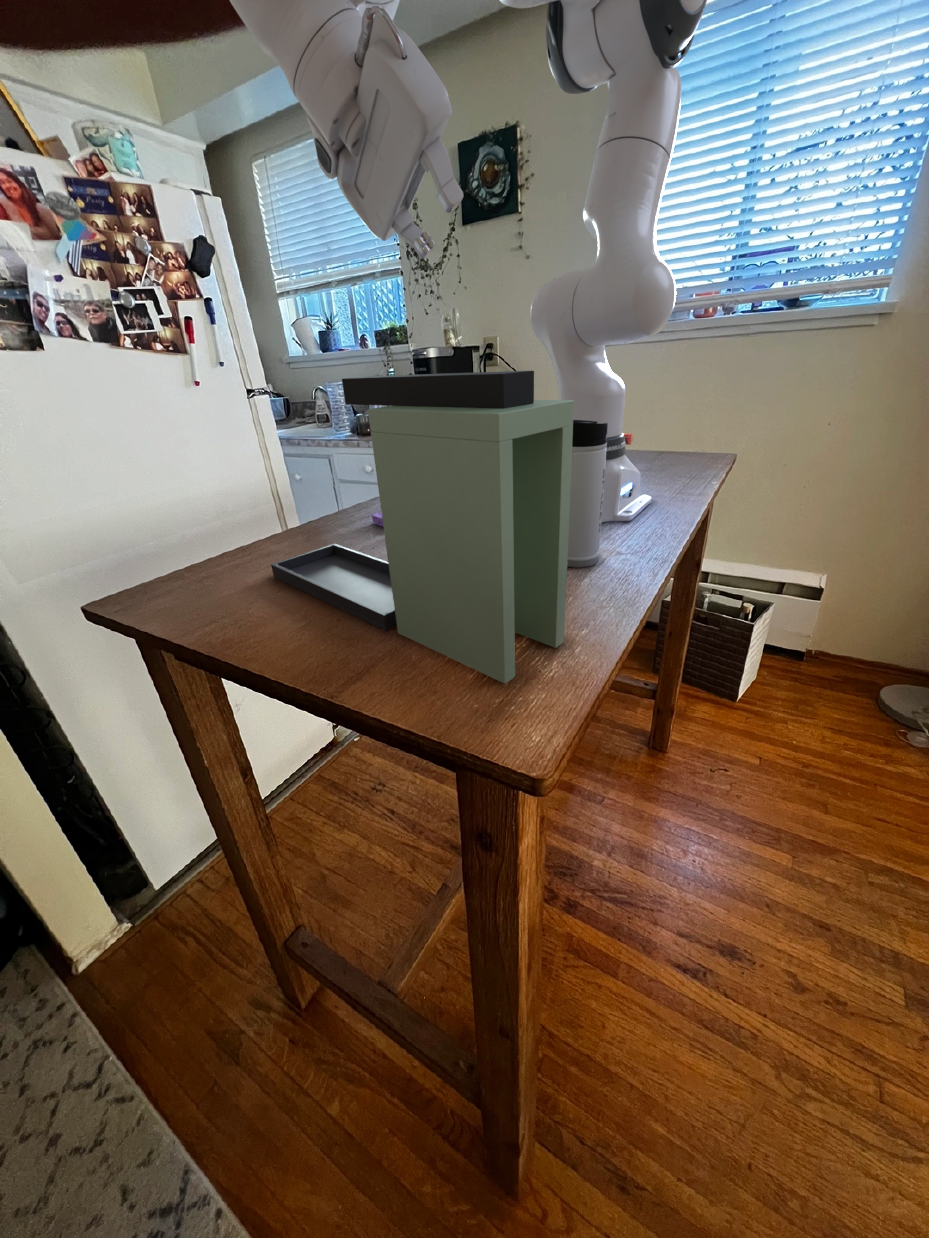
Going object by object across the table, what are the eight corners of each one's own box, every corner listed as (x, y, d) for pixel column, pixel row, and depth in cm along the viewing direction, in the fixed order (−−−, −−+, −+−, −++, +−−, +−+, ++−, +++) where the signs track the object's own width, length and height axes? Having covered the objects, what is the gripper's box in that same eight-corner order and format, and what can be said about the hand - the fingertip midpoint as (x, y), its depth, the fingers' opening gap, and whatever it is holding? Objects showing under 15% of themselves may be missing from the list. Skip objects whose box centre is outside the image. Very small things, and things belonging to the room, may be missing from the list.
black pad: (375, 400, 56) (372, 376, 55) (534, 403, 42) (534, 370, 41) (345, 404, 54) (341, 378, 52) (503, 408, 40) (503, 373, 39)
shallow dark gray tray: (336, 555, 82) (334, 543, 81) (453, 598, 65) (452, 583, 64) (273, 577, 76) (270, 564, 75) (386, 631, 58) (383, 615, 57)
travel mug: (545, 558, 76) (548, 417, 67) (581, 550, 78) (589, 412, 69) (569, 571, 71) (575, 421, 62) (607, 562, 73) (619, 415, 64)
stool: (458, 602, 64) (444, 398, 53) (564, 642, 54) (574, 400, 43) (397, 633, 58) (367, 409, 47) (504, 684, 48) (498, 413, 37)
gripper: (397, -34, 39) (502, 148, 45) (357, 144, 58) (434, 258, 63) (339, 10, 39) (453, 190, 44) (317, 177, 57) (399, 289, 63)
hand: (441, 231), depth 54 cm, fingers open, 8 cm apart
